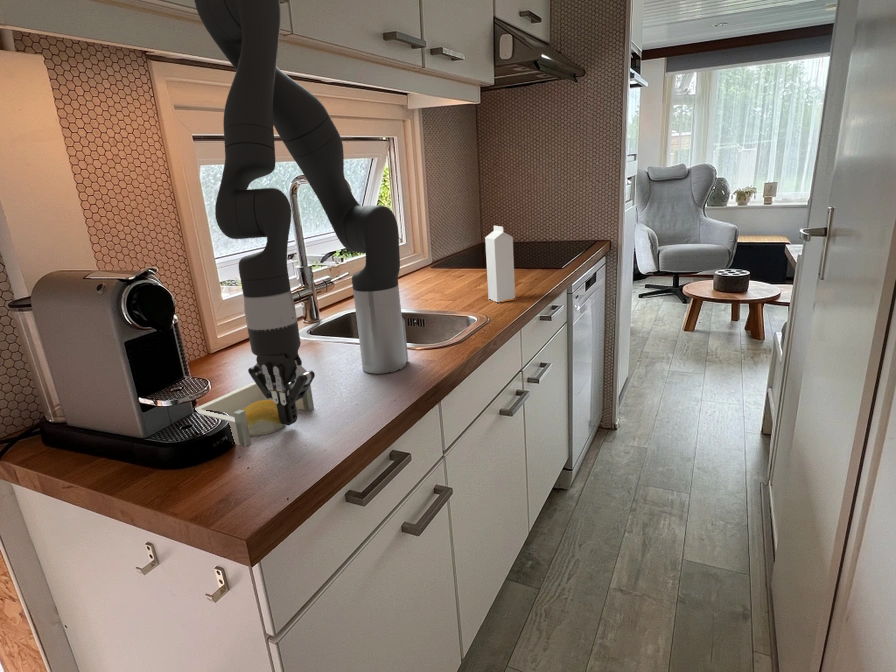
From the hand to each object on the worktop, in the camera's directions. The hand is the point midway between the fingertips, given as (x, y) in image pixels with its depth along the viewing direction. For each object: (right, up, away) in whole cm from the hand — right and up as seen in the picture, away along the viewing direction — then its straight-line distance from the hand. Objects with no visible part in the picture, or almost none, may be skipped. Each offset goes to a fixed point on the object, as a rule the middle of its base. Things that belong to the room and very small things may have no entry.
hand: (288, 423), depth 93 cm
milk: (+42, +25, +76) cm, 90 cm away
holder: (-7, 0, +5) cm, 8 cm away
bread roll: (-5, -1, +3) cm, 6 cm away
